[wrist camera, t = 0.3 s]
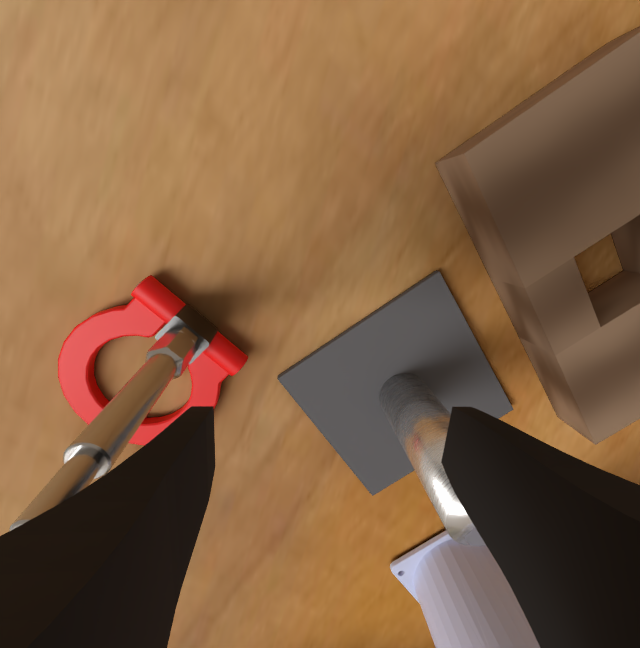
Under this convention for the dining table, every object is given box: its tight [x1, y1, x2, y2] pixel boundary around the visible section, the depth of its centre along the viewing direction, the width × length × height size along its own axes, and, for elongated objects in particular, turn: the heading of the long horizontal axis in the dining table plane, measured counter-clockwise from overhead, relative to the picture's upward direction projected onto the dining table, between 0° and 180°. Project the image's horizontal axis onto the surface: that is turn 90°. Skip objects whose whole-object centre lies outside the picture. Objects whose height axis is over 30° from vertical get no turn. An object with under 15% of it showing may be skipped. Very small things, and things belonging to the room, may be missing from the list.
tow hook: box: [9, 275, 248, 531], centre depth 14 cm, size 8×13×9 cm
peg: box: [379, 373, 486, 546], centre depth 17 cm, size 3×3×9 cm
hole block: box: [435, 26, 640, 445], centre depth 19 cm, size 19×10×3 cm, turn 34°
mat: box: [278, 270, 513, 496], centre depth 22 cm, size 11×11×1 cm
